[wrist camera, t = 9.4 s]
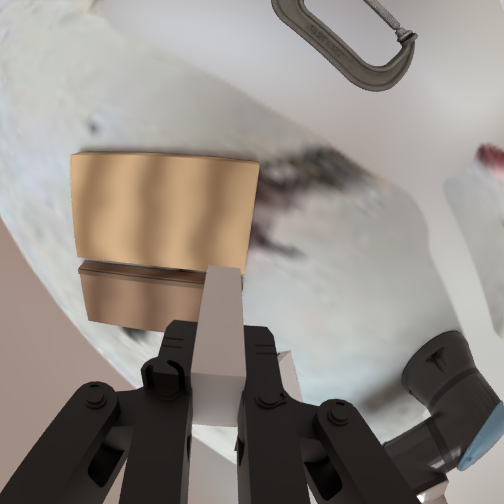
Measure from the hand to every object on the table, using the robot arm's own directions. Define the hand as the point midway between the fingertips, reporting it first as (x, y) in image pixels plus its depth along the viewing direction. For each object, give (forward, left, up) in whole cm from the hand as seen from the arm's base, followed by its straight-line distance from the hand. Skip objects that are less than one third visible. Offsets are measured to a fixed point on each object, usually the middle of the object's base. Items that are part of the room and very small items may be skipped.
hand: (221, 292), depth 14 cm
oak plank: (+7, +2, -18) cm, 20 cm away
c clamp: (-11, -25, -19) cm, 34 cm away
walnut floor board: (+7, +13, -18) cm, 24 cm away
